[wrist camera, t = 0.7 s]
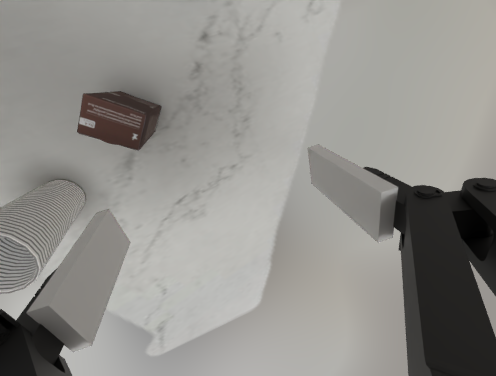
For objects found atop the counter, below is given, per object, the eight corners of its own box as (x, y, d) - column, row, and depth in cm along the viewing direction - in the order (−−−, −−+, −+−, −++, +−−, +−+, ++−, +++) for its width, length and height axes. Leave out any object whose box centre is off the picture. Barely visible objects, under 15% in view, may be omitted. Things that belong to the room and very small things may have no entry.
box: (162, 103, 34) (148, 115, 23) (155, 132, 35) (138, 155, 25) (118, 87, 32) (80, 91, 21) (112, 118, 33) (75, 136, 23)
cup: (22, 174, 34) (-92, 238, 20) (84, 168, 36) (17, 224, 22) (46, 221, 38) (-37, 301, 24) (102, 214, 39) (53, 286, 26)
